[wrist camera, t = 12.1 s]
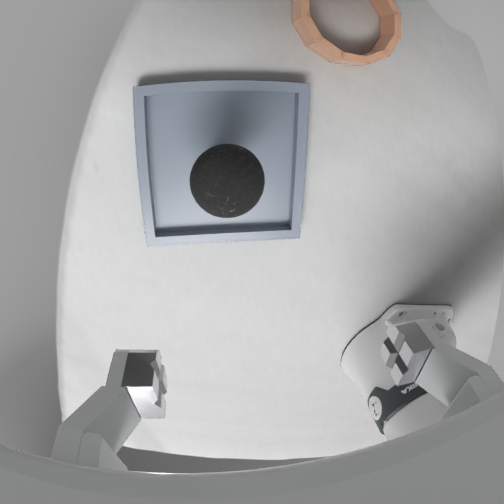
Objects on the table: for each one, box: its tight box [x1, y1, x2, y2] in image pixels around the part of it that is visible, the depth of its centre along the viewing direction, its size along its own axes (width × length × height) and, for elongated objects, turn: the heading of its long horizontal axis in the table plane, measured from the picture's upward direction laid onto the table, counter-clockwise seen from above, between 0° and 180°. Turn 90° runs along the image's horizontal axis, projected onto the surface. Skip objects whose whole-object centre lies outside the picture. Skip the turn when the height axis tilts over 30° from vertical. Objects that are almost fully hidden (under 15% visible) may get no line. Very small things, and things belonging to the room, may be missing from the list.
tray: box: [133, 80, 310, 247], centre depth 29 cm, size 16×16×2 cm
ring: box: [292, 0, 401, 66], centre depth 22 cm, size 11×11×3 cm
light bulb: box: [189, 144, 265, 218], centre depth 25 cm, size 6×6×10 cm
